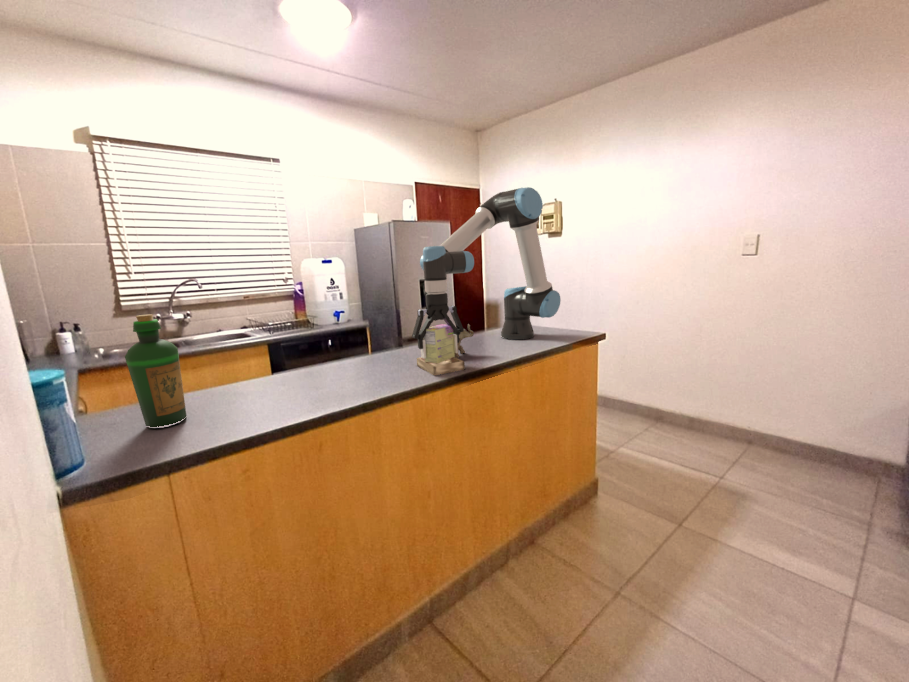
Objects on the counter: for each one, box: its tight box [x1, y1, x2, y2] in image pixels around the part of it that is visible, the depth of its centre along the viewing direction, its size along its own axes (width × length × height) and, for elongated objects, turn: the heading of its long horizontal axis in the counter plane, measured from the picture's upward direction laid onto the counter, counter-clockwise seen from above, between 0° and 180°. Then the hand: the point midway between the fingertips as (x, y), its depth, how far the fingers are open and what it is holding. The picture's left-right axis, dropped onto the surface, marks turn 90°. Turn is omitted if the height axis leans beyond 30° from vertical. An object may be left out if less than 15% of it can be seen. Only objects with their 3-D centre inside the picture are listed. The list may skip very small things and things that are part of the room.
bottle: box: [124, 313, 187, 427], centre depth 99 cm, size 11×11×28 cm
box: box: [423, 323, 455, 364], centre depth 138 cm, size 10×6×12 cm, turn 145°
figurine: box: [453, 323, 474, 359], centre depth 154 cm, size 10×14×15 cm, turn 88°
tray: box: [416, 356, 466, 377], centre depth 140 cm, size 12×15×3 cm
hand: (439, 355), depth 139 cm, fingers closed on box, 11 cm apart
